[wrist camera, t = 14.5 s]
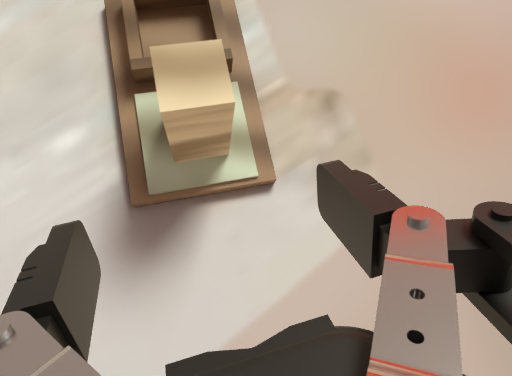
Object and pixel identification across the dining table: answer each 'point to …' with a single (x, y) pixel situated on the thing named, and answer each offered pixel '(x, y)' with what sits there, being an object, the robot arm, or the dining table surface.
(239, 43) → the puzzle board
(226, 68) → the maple block
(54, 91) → the dining table surface
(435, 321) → the robot arm
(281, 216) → the dining table surface
